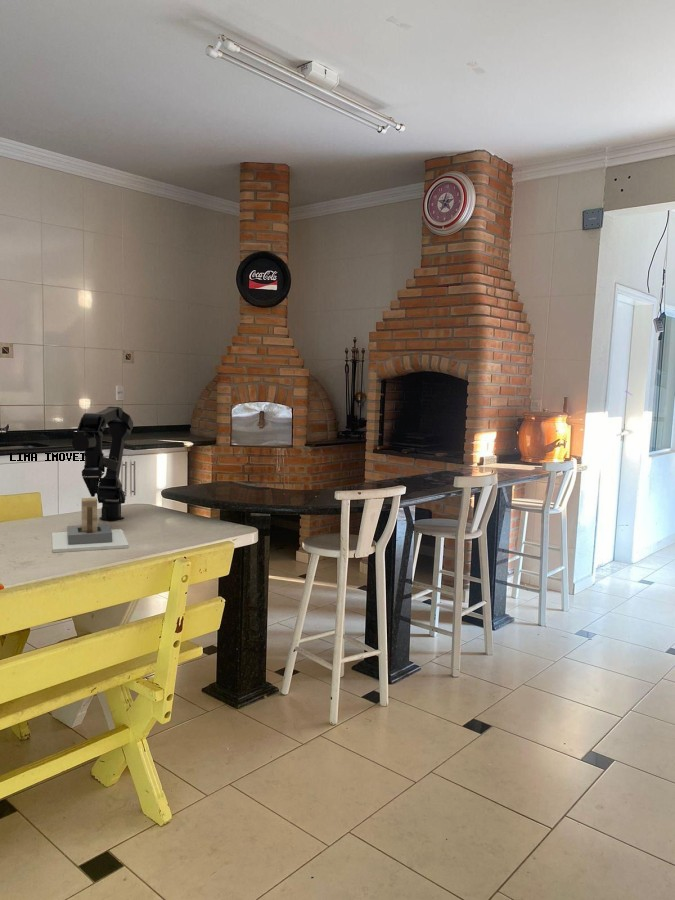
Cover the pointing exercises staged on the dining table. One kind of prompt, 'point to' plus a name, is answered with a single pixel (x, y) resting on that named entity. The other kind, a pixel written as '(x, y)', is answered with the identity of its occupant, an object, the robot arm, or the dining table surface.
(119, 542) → the socket block
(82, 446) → the robot arm
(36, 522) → the dining table surface
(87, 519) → the keyed peg
